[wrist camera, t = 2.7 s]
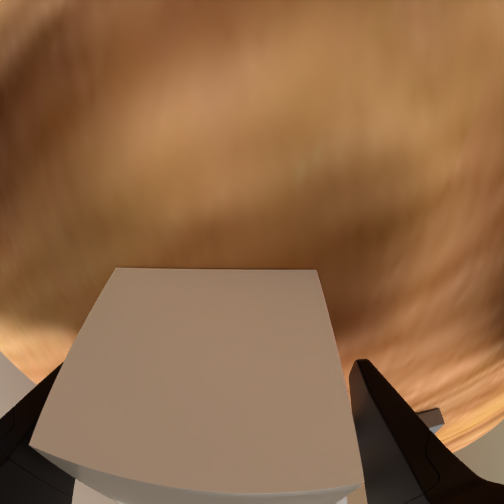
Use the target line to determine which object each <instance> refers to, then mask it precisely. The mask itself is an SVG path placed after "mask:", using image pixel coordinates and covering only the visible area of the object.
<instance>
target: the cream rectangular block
mask: <svg viewBox="0 0 504 504" xmlns="http://www.w3.org/2000/svg"><path fill="white" fill-rule="evenodd" d="M29 446H31V447H32V448H33V449H35V450H36V451H37V452H38V453H40V454H41V455H42V456H44V457H45V458H46V459H48V460H49V461H50V462H52V463H53V464H55V465H56V466H58V467H59V468H60V469H62V470H63V471H65V472H66V473H68V474H69V475H71V476H73V477H74V478H76V479H78V480H79V481H80V482H82V483H84V484H85V485H87V486H89V487H91V488H92V489H94V490H96V491H98V492H99V493H101V494H103V495H105V496H106V497H108V498H110V499H112V500H114V501H116V502H118V503H120V504H335V503H337V502H338V501H340V500H341V499H343V498H344V497H346V496H347V495H349V494H350V493H351V492H353V491H354V490H355V489H357V488H358V487H360V486H361V485H362V484H364V483H365V481H364V475H363V469H362V463H361V457H360V452H359V446H358V441H357V436H356V431H355V425H354V420H353V416H352V411H351V406H350V401H349V397H348V392H347V387H346V383H345V378H344V374H343V370H342V365H341V361H340V357H339V353H338V349H337V345H336V341H335V336H334V332H333V329H332V325H331V321H330V317H329V313H328V309H327V305H326V302H325V298H324V294H323V291H322V287H321V283H320V280H319V276H318V273H317V270H241V269H161V268H115V270H114V272H113V273H112V275H111V276H110V278H109V280H108V281H107V283H106V285H105V286H104V288H103V290H102V292H101V293H100V295H99V297H98V298H97V300H96V302H95V304H94V305H93V307H92V309H91V311H90V313H89V314H88V316H87V318H86V320H85V322H84V324H83V325H82V327H81V329H80V331H79V333H78V335H77V337H76V339H75V341H74V343H73V345H72V347H71V349H70V351H69V353H68V355H67V357H66V359H65V361H64V363H63V365H62V367H61V369H60V371H59V373H58V375H57V378H56V380H55V382H54V384H53V386H52V389H51V391H50V393H49V395H48V398H47V400H46V402H45V405H44V407H43V409H42V412H41V414H40V417H39V419H38V422H37V424H36V427H35V430H34V432H33V435H32V438H31V440H30V443H29Z"/></svg>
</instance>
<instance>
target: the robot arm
mask: <svg viewBox="0 0 504 504" xmlns="http://www.w3.org/2000/svg"><path fill="white" fill-rule="evenodd" d="M63 363H64V362H63ZM63 363H61V364H60V365H59V366H58V367H57V368H56V369H55V370H54V371H52V372H51V373H50V374H49V375H48V376H47V377H46V378H45V379H43V380H42V381H41V382H40V383H39V384H38V385H37V386H36V387H35V388H34V389H33V390H31V391H30V392H29V393H28V394H27V395H26V396H25V397H24V398H23V399H22V400H20V401H19V402H18V403H17V404H16V405H15V406H14V407H13V408H12V409H11V410H10V411H9V412H7V413H6V414H5V415H4V416H3V417H2V418H1V419H0V504H72V496H73V489H74V483H75V478H74V477H73V476H71V475H69V474H68V473H66V472H65V471H63V470H62V469H60V468H59V467H58V466H56V465H55V464H53V463H52V462H50V461H49V460H48V459H46V458H45V457H44V456H42V455H41V454H40V453H38V452H37V451H36V450H35V449H33V448H32V447H31V446H29V443H30V440H31V438H32V435H33V432H34V430H35V427H36V424H37V422H38V419H39V417H40V414H41V412H42V409H43V407H44V405H45V402H46V400H47V398H48V395H49V393H50V391H51V389H52V386H53V384H54V382H55V380H56V378H57V375H58V373H59V371H60V369H61V367H62V365H63ZM349 385H350V395H351V406H352V416H353V420H354V425H355V431H356V436H357V441H358V446H359V452H360V457H361V463H362V469H363V475H364V481H365V489H366V496H367V502H368V504H504V485H503V484H499V483H494V482H490V481H487V480H485V479H482V478H481V477H479V476H477V475H476V474H475V473H474V472H473V471H471V470H470V469H469V468H468V467H467V466H466V465H465V464H464V463H463V462H461V461H460V460H459V459H458V458H457V457H456V456H455V455H454V454H453V453H452V452H451V451H450V450H449V449H448V448H446V447H445V445H444V444H443V443H442V442H441V441H440V440H439V439H438V438H437V437H436V436H435V434H434V433H433V432H432V431H431V430H430V429H429V428H428V427H427V425H426V424H425V423H424V422H423V421H422V420H421V418H420V417H419V416H418V415H417V414H416V413H415V412H414V411H413V409H412V408H411V407H410V406H409V405H408V404H407V403H406V401H405V400H404V399H403V398H402V397H401V396H400V395H399V393H398V392H397V391H396V390H395V389H394V388H393V387H392V386H391V384H390V383H389V382H388V381H387V380H386V379H385V378H384V377H383V375H382V374H381V373H380V372H379V371H378V370H377V369H376V368H375V366H374V365H373V364H372V363H371V362H370V361H369V360H368V359H357V360H356V361H355V362H354V364H353V367H352V369H351V372H350V374H349ZM429 430H430V431H429Z"/></svg>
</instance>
